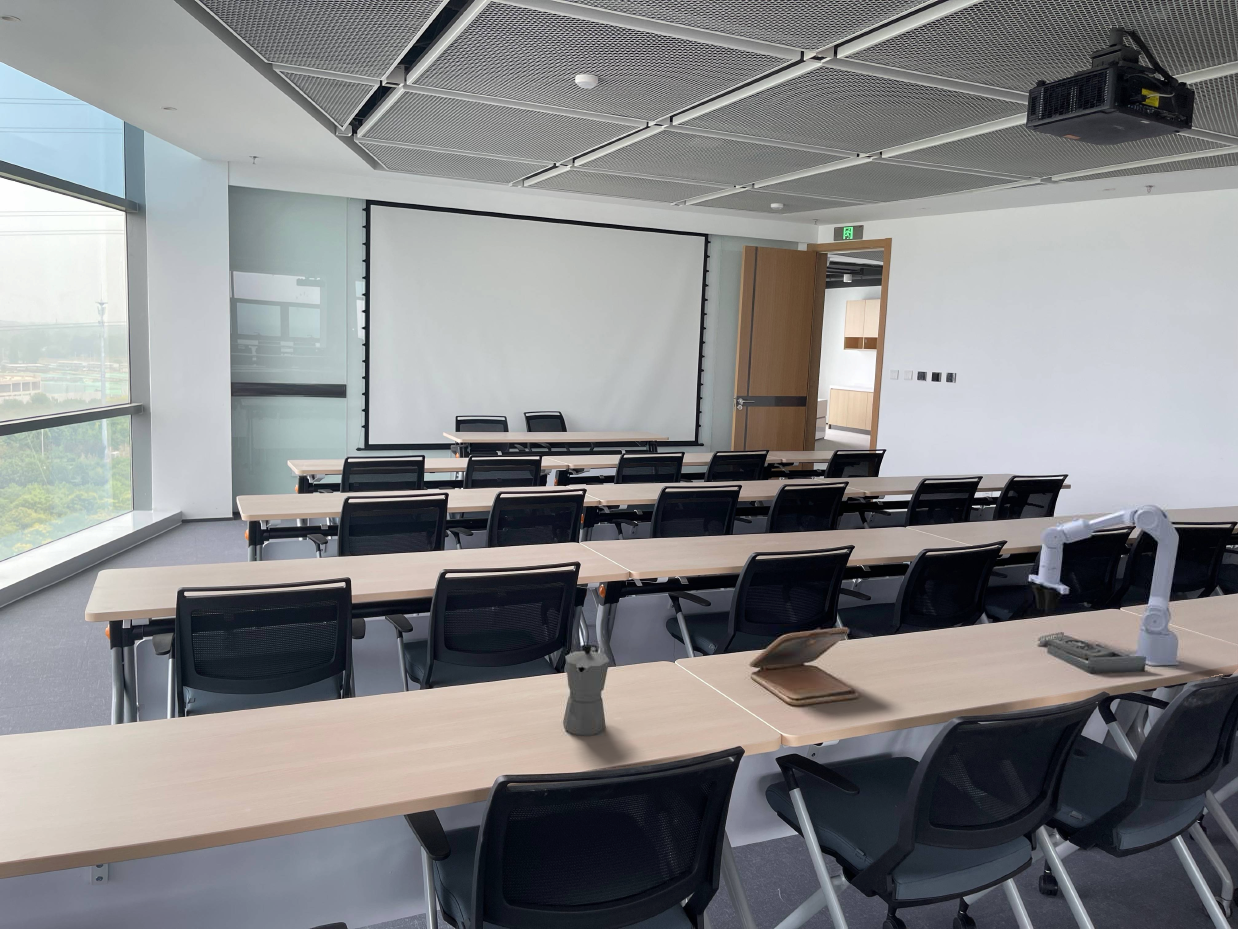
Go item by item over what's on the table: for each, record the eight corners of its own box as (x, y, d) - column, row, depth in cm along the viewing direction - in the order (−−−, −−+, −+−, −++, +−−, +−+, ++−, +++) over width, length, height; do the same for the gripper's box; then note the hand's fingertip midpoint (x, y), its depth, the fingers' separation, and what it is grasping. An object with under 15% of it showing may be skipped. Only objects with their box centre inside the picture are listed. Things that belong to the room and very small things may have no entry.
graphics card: (1035, 635, 243) (1061, 630, 248) (1033, 647, 243) (1060, 642, 249) (1089, 655, 228) (1116, 649, 233) (1088, 668, 228) (1114, 661, 234)
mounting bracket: (1098, 650, 241) (1100, 637, 240) (1144, 671, 225) (1146, 657, 225) (1047, 652, 237) (1048, 639, 237) (1090, 673, 221) (1092, 659, 221)
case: (813, 668, 217) (817, 608, 215) (863, 699, 197) (868, 634, 195) (744, 676, 209) (748, 614, 207) (790, 709, 190) (794, 642, 188)
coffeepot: (600, 743, 168) (604, 657, 166) (555, 737, 169) (558, 653, 167) (612, 712, 183) (616, 633, 181) (571, 707, 184) (574, 629, 182)
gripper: (1022, 560, 254) (1017, 603, 256) (1056, 573, 240) (1051, 618, 242) (1041, 560, 256) (1037, 603, 258) (1077, 572, 242) (1071, 617, 244)
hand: (1045, 610), depth 250 cm, fingers open, 3 cm apart
